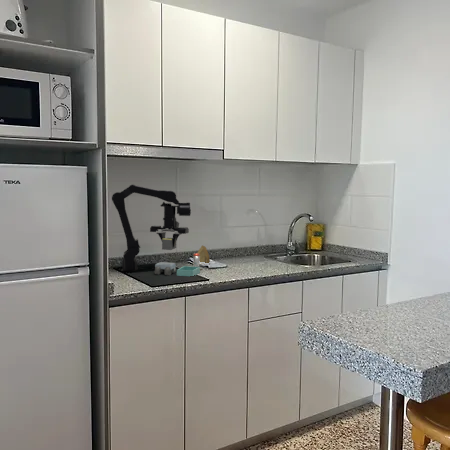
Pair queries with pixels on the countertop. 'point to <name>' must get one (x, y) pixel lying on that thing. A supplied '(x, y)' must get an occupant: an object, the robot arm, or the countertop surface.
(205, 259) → the rock
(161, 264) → the trolley
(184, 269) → the tray
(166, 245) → the block
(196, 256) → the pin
